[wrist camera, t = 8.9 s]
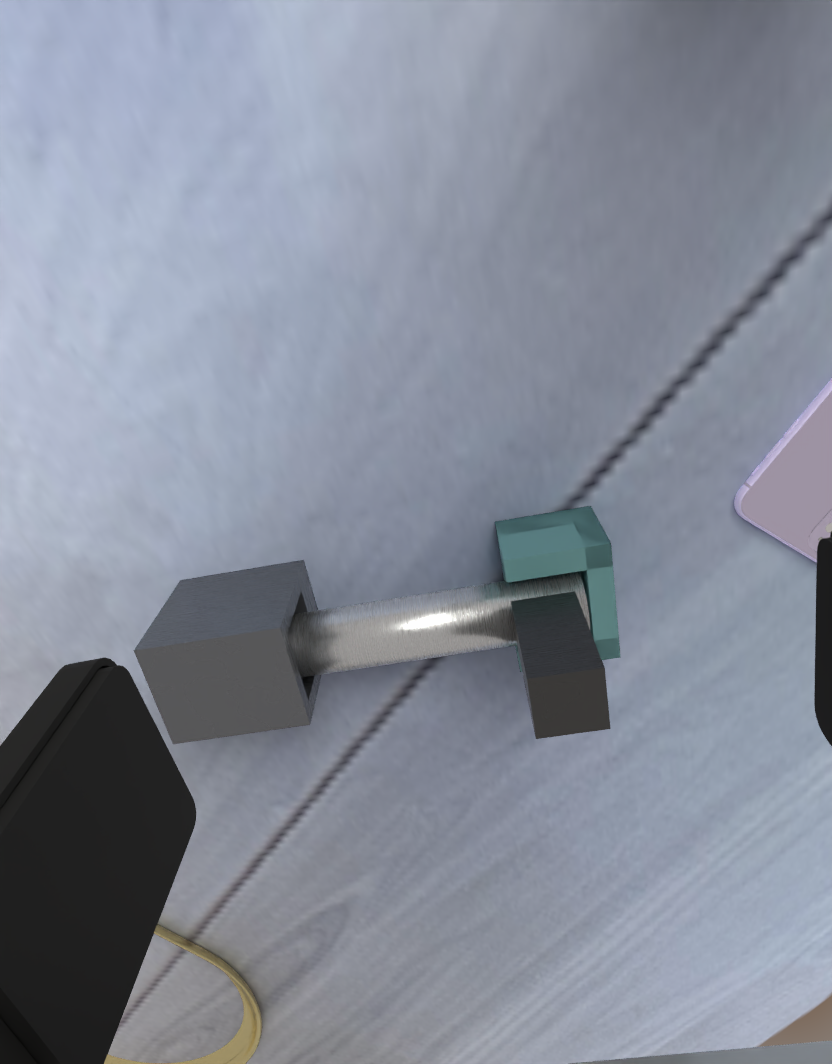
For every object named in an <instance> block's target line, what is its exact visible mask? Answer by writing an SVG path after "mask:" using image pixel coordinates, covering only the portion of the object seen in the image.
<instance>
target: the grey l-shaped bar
mask: <svg viewBox="0 0 832 1064" xmlns="http://www.w3.org/2000/svg"><path fill="white" fill-rule="evenodd" d="M288 636H289V640H290V643H291V646H292V649H293V653H294V656H295V659H296V662H297V665H298V669H299V672H300V675H301V677H308V676H315V675H321V674H328V673H335V672H341V671H348V670H355V669H362V668H368V667H375V666H382V665H388V664H395V663H402V662H409V661H415V660H422V659H429V658H435V657H442V656H449V655H456V654H462V653H469V652H476V651H482V650H489V649H496V648H503V647H509V646H516V645H517V646H518V653H519V658H520V663H521V668H522V673H523V678H524V683H525V688H526V692H527V697H528V702H529V707H530V712H531V717H532V722H533V727H534V732H535V737H536V739H539V738H546V737H553V736H561V735H568V734H575V733H583V732H590V731H597V730H605V729H610V720H609V710H608V699H607V689H606V678H605V668H604V665H603V663H602V660H601V657H600V655H599V652H598V650H597V647H596V644H595V642H594V639H593V637H592V634H591V631H590V618H589V610H588V604H587V599H586V594H585V589H584V585H583V581H582V578H581V575H580V573H579V571H578V572H572V573H565V574H559V575H552V576H546V577H540V578H533V579H527V580H521V581H514V582H508V583H507V582H506V581H501V582H495V583H489V584H482V585H476V586H469V587H463V588H457V589H450V590H444V591H438V592H431V593H425V594H419V595H412V596H406V597H400V598H393V599H387V600H381V601H374V602H368V603H362V604H355V605H349V606H342V607H336V608H330V609H323V610H317V611H311V612H304V613H298V614H294V615H293V618H292V621H291V624H290V627H289V630H288Z"/></svg>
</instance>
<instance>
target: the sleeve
mask: <svg viewBox="0 0 832 1064" xmlns="http://www.w3.org/2000/svg"><path fill="white" fill-rule="evenodd" d="M317 610H318V609H317V606H316V602H315V599H314V595H313V592H312V588H311V585H310V581H309V577H308V574H307V570H306V567H305V563H304V560H302V561H296V562H290V563H284V564H278V565H271V566H265V567H259V568H253V569H247V570H241V571H235V572H229V573H223V574H217V575H211V576H205V577H198V578H192V579H186V580H180V582H179V583H178V585H177V586H176V588H175V590H174V591H173V593H172V594H171V596H170V597H169V599H168V600H167V602H166V603H165V605H164V606H163V608H162V609H161V611H160V612H159V614H158V615H157V617H156V618H155V620H154V621H153V623H152V624H151V626H150V627H149V629H148V630H147V632H146V633H145V635H144V636H143V638H142V639H141V641H140V642H139V644H138V645H137V647H136V648H135V650H134V652H135V654H136V657H137V659H138V662H139V664H140V666H141V669H142V671H143V673H144V676H145V678H146V681H147V683H148V685H149V688H150V690H151V693H152V695H153V697H154V700H155V702H156V704H157V707H158V709H159V712H160V714H161V716H162V719H163V721H164V723H165V726H166V728H167V731H168V733H169V735H170V738H171V740H172V742H173V744H177V743H184V742H191V741H198V740H205V739H212V738H220V737H227V736H234V735H241V734H248V733H255V732H262V731H269V730H276V729H283V728H290V727H297V726H304V725H310V723H311V718H312V714H313V710H314V705H315V701H316V696H317V692H318V688H319V683H320V679H321V675H322V674H321V675H315V676H308V677H301V675H300V672H299V669H298V665H297V662H296V659H295V656H294V653H293V649H292V646H291V643H290V640H289V636H288V630H289V627H290V624H291V621H292V618H293V615H294V614H298V613H304V612H311V611H317Z"/></svg>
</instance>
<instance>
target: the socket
mask: <svg viewBox="0 0 832 1064" xmlns="http://www.w3.org/2000/svg"><path fill="white" fill-rule="evenodd" d="M495 525H496V531H497V538H498V544H499V551H500V557H501V563H502V570H503V576H504V581H506V582H507V583H508V582H514V581H521V580H527V579H533V578H540V577H546V576H552V575H559V574H565V573H572V572H578V571H579V573H580V575H581V578H582V581H583V585H584V589H585V594H586V599H587V604H588V610H589V618H590V631H591V634H592V637H593V639H594V642H595V644H596V647H597V650H598V652H599V655H600V657H601V660H605V659H612V658H619V657H620V646H619V634H618V623H617V611H616V599H615V587H614V575H613V563H612V551H611V543H610V541H609V539H608V537H607V535H606V533H605V532H604V530H603V528H602V526H601V524H600V522H599V521H598V519H597V517H596V515H595V513H594V511H593V510H592V508H591V506H587V507H581V508H575V509H569V510H563V511H557V512H551V513H545V514H539V515H533V516H527V517H521V518H515V519H509V520H503V521H496V522H495ZM515 647H516V652H517V657H518V662H519V667H520V672H522V668H521V663H520V658H519V653H518V646H517V645H516V646H515Z"/></svg>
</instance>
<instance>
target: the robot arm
mask: <svg viewBox="0 0 832 1064" xmlns="http://www.w3.org/2000/svg"><path fill="white" fill-rule="evenodd" d="M815 713H816V717H817V720H818V723H819V726H820V728H821V730H822V732H823V734H824V736H825V737H826V739H827V740H828V742H829V743H830V745H831V746H832V531H831V534H830V537H829V538H823V539H821V540H820V541H819V544H818V547H817V582H816V644H815ZM195 821H196V808H195V803H194V800H193V798H192V796H191V794H190V792H189V790H188V788H187V786H186V784H185V782H184V780H183V778H182V776H181V774H180V772H179V770H178V768H177V766H176V764H175V762H174V760H173V758H172V756H171V754H170V752H169V750H168V748H167V746H166V744H165V742H164V740H163V738H162V736H161V734H160V732H159V730H158V728H157V726H156V724H155V722H154V720H153V719H152V717H151V715H150V713H149V711H148V709H147V707H146V705H145V703H144V701H143V699H142V697H141V695H140V693H139V691H138V689H137V687H136V685H135V683H134V681H133V679H132V677H131V675H130V673H129V672H128V670H127V669H126V668H125V667H123V666H119V665H118V666H117V665H116V664H115V662H113V661H112V660H111V659H108V658H100V659H95V660H89V661H84V662H78V663H73V664H68V665H65V666H64V667H62V668H61V669H60V670H59V671H58V673H57V674H56V675H55V677H54V678H53V679H52V680H51V682H50V683H49V684H48V686H47V687H46V688H45V689H44V691H43V692H42V693H41V694H40V696H39V697H38V698H37V700H36V701H35V702H34V703H33V705H32V706H31V707H30V709H29V710H28V711H27V712H26V714H25V715H24V716H23V718H22V719H21V720H20V721H19V723H18V724H17V725H16V727H15V728H14V729H13V730H12V732H11V733H10V734H9V736H8V737H7V738H6V739H5V741H4V742H3V743H2V745H1V746H0V1064H104V1062H105V1060H106V1057H107V1054H108V1052H109V1049H110V1046H111V1044H112V1041H113V1039H114V1036H115V1033H116V1031H117V1028H118V1026H119V1023H120V1020H121V1018H122V1015H123V1012H124V1010H125V1007H126V1005H127V1002H128V999H129V997H130V994H131V991H132V989H133V986H134V984H135V981H136V978H137V976H138V973H139V971H140V968H141V965H142V963H143V960H144V957H145V955H146V952H147V950H148V947H149V944H150V942H151V939H152V937H153V934H154V931H155V929H156V926H157V923H158V921H159V918H160V916H161V913H162V910H163V908H164V905H165V902H166V900H167V897H168V895H169V892H170V889H171V887H172V884H173V882H174V879H175V876H176V874H177V871H178V868H179V866H180V863H181V861H182V858H183V855H184V853H185V850H186V848H187V845H188V842H189V840H190V837H191V834H192V832H193V829H194V826H195ZM570 1064H832V1041H823V1042H811V1043H800V1044H788V1045H778V1046H765V1047H753V1048H742V1049H730V1050H719V1051H707V1052H696V1053H684V1054H673V1055H661V1056H650V1057H638V1058H627V1059H615V1060H604V1061H593V1062H581V1063H570Z"/></svg>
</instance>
